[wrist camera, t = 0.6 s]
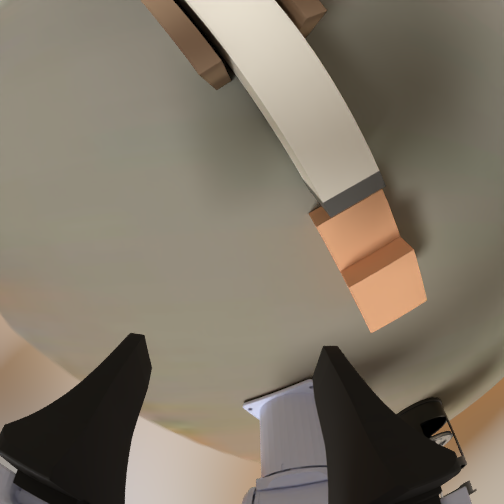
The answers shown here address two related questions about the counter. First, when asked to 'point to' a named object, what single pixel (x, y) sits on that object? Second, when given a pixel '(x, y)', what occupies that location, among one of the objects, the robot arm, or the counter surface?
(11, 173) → the counter surface
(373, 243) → the peach two-level step
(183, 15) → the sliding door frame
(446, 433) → the french press
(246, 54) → the sliding door
